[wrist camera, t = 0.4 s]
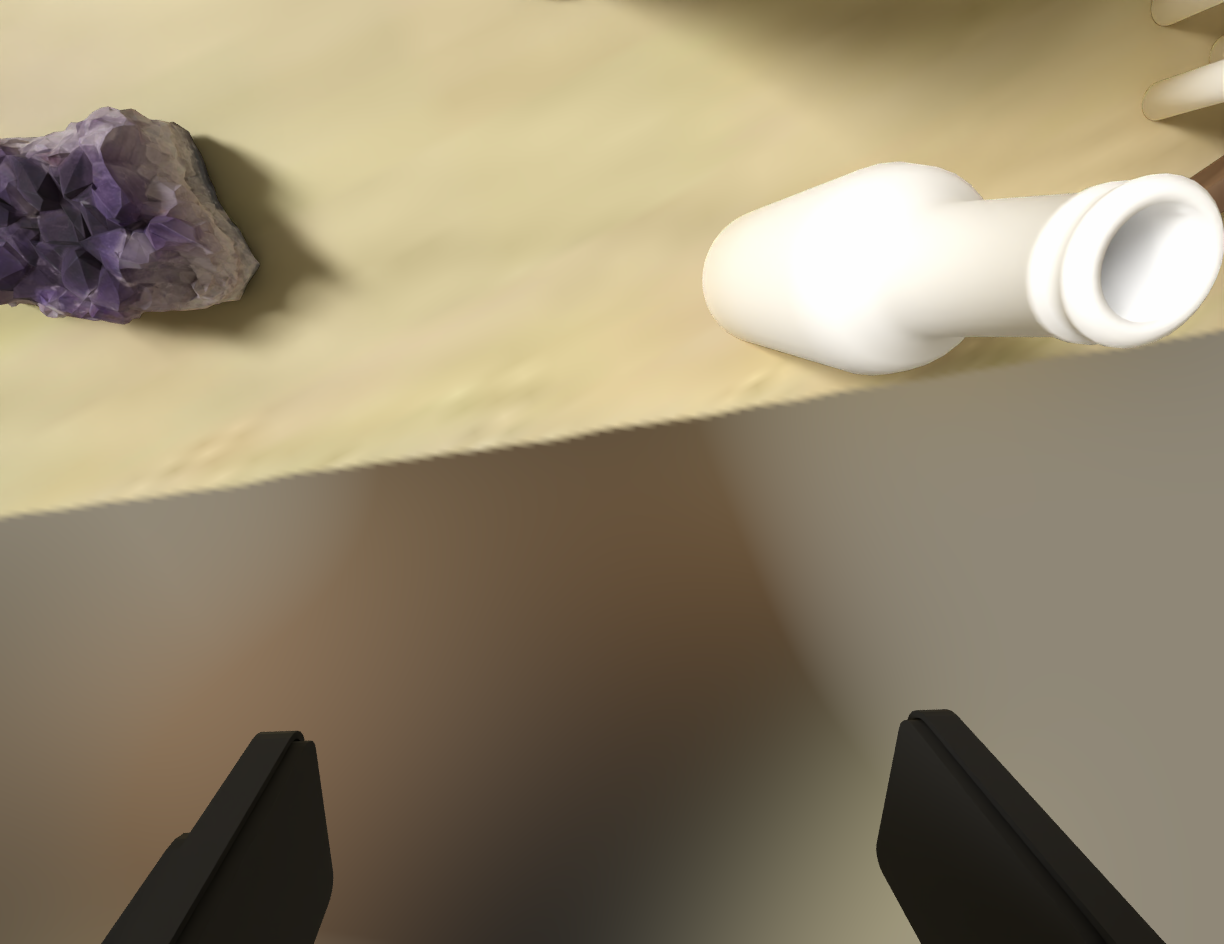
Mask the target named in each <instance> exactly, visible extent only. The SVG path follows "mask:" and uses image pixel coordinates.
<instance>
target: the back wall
mask: <svg viewBox="0 0 1224 944" xmlns="http://www.w3.org/2000/svg"><path fill="white" fill-rule="evenodd" d="M1190 179H1191V180H1194V181H1196V182H1197V183H1198V184H1200V185H1201V186H1202V187H1203V188H1205V189H1206V190H1207V191H1208V193H1209V194H1210V195H1211V196H1212V198H1213V199H1214V200H1215V202H1216V204H1217V206H1218V209H1219V211H1220V213H1221V212H1223V211H1224V156H1222V157H1221V158H1219V159H1218V160H1216V161H1215V162H1213V163H1212V164H1210V165H1209V166H1208V167H1206V168H1205V169H1203V170H1202V171H1200V172H1199V173H1197V174H1196V175H1194V176H1193V177H1191V178H1190Z"/></svg>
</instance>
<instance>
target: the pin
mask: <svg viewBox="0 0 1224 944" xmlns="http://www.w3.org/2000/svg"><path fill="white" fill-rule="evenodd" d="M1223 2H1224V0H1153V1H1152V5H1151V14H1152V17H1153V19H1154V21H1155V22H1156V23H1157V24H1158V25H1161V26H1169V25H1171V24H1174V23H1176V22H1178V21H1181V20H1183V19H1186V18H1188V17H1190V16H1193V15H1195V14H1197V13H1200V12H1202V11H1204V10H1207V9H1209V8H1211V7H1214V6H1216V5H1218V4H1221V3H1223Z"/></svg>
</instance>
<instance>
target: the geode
mask: <svg viewBox="0 0 1224 944" xmlns="http://www.w3.org/2000/svg"><path fill="white" fill-rule="evenodd" d="M259 266H260V265H259V262H258V261H257V260H256V259H255V258H254V256H253V255H252V253H251V251H250V248H249V246H248V245H247V243H246V241H245V239H244V237H243V235H242V234H241V232H240V230H239V228H238V227H237V226H236V225H234V224H233V222H232V221H231V219H230V218H229V216H228V215H227V213H226V212H225V210H224V209H223V207H222V206H221V204H220V203H219V201H218V200H217V196H216V192H215V189H214V186H213V184H212V182H211V181H210V178H209V175H208V172H207V169H206V166H205V163H204V161H203V158H202V155H201V153H200V152H199V150H198V149H197V147H196V145H195V144H194V142H193V140H192V137H191V135H190V133H189V132H188V131H187V130H185V129H184V128H182V127H181V126H179V125H178V124H176V123H174V122H170V123H169V122H165V121H160V120H150V119H148V118H146V117H145V116H143V115H142V114H140V113H139V112H137V111H136V110H134V109H126V110H118V109H115V108H111V107H103V108H100V109H98V110H96V111H94V112H92V113H91V114H90V115H89V116H88V117H87V118H86V119H85V120H84V121H81V122H78V123H72V122H71V123H70V124H69V125H68V127H67V128H66V130H65V131H62V132H53V133H51V134H48V135H46V136H44V137H29V138H20V137H18V138H4V139H0V305H2V304H9V305H10V306H11V307H13V306H17V305H18V304H19V303H23V304H33V305H37V306H39V308H40V311H41V312H42V313H43V314H45V315H46V316H48V317H52V318H55V317H66V316H71V317H77V318H83V319H89V320H93V321H98V320H103V321H107V322H112V323H118V324H127V323H129V322H130V321H131V320H132V319H135V318H140V317H141V314H142V313H143V312H151V311H155V312H165V311H170V310H178V311H187V310H195V309H205V308H208V307H211V306H213V305H214V304H220V303H221V302H227V301H236V300H240V299H241V297H242V295H243V293H244V291H245V288H246V286H247V284H248V282H249V281H250V279H251V278H252V276H253V275H254V274H255V272H256V271H257V269H258V268H259Z"/></svg>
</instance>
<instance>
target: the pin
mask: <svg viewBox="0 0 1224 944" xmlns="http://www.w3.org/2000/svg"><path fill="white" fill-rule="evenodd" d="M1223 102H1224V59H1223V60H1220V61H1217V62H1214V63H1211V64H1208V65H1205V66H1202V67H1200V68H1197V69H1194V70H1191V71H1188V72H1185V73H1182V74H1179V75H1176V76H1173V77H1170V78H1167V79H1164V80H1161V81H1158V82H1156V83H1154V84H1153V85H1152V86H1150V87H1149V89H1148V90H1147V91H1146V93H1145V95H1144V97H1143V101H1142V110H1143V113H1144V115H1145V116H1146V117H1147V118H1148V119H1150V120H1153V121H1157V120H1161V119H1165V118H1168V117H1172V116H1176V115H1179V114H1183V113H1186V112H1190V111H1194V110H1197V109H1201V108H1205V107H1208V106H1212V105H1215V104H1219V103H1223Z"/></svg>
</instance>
